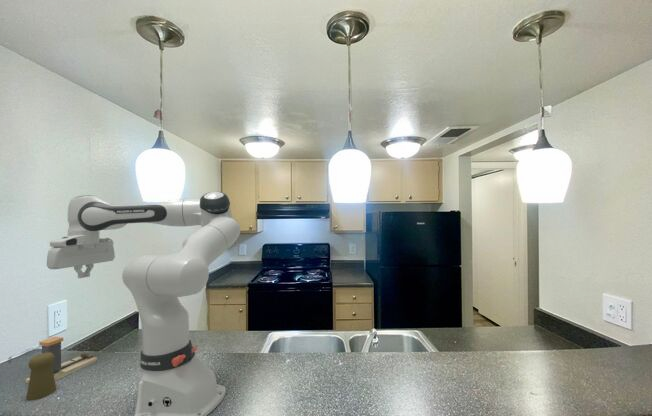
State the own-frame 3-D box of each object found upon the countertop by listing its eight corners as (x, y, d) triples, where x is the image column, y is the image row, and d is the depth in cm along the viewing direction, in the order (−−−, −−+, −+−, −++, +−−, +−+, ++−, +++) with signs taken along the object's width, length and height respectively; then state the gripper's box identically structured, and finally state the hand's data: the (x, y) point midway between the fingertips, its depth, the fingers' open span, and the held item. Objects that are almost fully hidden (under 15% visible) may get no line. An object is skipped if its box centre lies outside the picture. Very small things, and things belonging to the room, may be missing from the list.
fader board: (97, 361, 97) (97, 354, 97) (43, 386, 82) (43, 379, 82) (80, 358, 99) (80, 352, 99) (25, 383, 84) (25, 375, 84)
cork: (36, 401, 75) (36, 360, 76) (20, 399, 76) (20, 359, 77) (61, 388, 81) (61, 350, 81) (46, 386, 82) (46, 349, 83)
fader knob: (63, 368, 89) (63, 337, 89) (47, 375, 85) (48, 343, 85) (54, 367, 90) (54, 336, 90) (39, 374, 86) (39, 342, 86)
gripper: (107, 237, 111) (107, 271, 111) (43, 242, 92) (43, 283, 91) (118, 237, 110) (118, 272, 109) (56, 242, 90) (56, 284, 90)
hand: (84, 277), depth 100 cm, fingers closed
